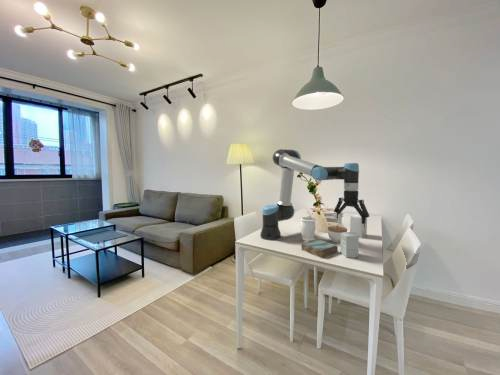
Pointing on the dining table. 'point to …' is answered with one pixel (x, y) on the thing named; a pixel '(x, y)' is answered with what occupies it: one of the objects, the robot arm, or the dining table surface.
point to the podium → (319, 248)
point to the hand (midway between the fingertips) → (350, 226)
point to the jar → (307, 228)
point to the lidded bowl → (336, 233)
